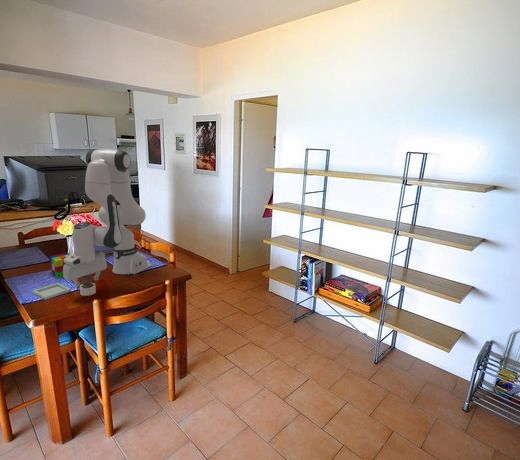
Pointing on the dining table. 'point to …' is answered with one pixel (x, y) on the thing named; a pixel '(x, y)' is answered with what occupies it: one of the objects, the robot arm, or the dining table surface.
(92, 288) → the cup
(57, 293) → the tray
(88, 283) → the dowel
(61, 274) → the toy
